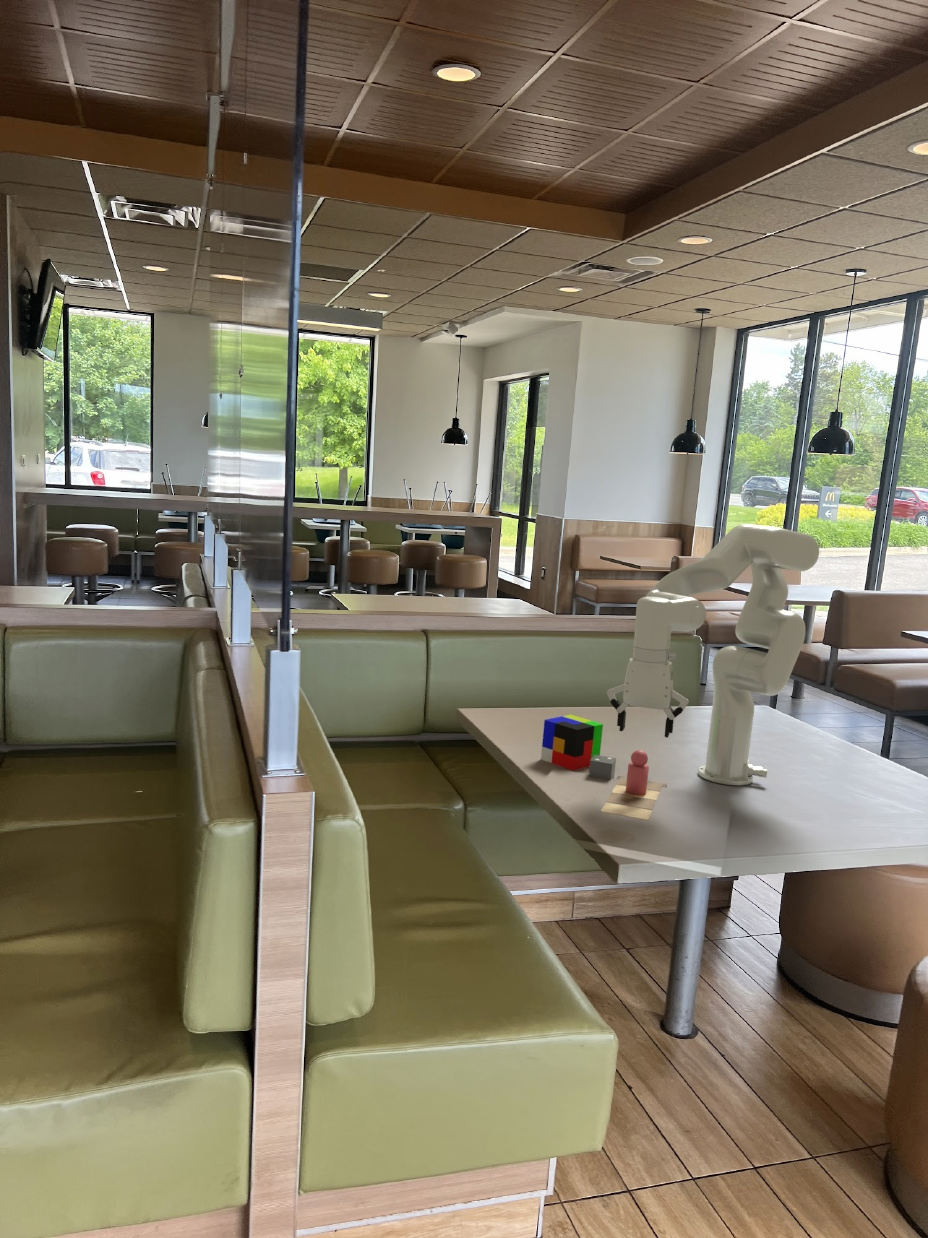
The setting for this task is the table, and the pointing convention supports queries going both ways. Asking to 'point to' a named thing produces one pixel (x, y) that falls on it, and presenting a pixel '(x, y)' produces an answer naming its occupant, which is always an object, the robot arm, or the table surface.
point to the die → (602, 767)
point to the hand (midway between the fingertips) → (644, 732)
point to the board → (632, 800)
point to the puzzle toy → (571, 741)
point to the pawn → (637, 774)
